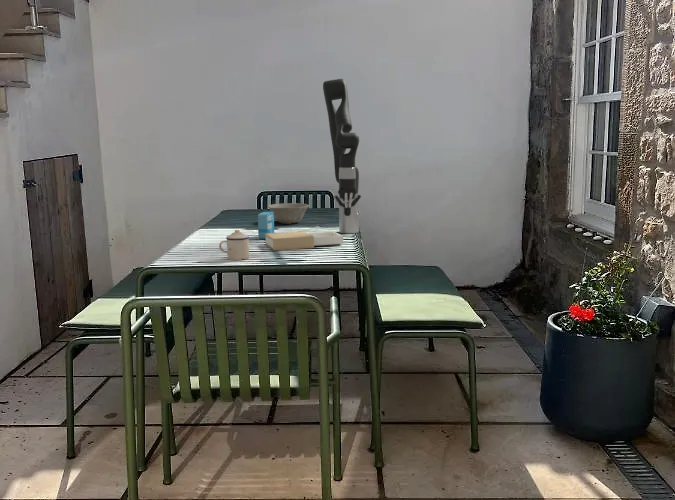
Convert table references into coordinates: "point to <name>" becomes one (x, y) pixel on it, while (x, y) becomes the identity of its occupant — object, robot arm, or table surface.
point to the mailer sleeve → (291, 240)
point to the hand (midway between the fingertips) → (347, 215)
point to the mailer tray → (319, 238)
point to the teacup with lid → (236, 246)
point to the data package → (265, 224)
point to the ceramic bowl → (288, 212)
